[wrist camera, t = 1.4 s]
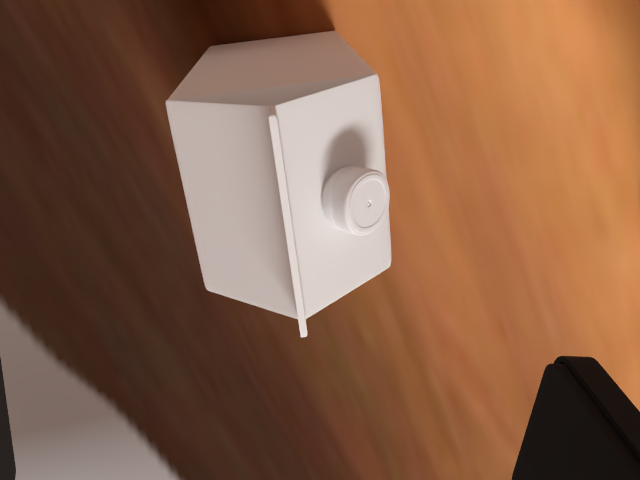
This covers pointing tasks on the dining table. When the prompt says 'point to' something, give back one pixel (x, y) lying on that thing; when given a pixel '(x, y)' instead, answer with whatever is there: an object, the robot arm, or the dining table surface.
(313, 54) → the milk carton
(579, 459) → the robot arm
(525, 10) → the dining table surface
